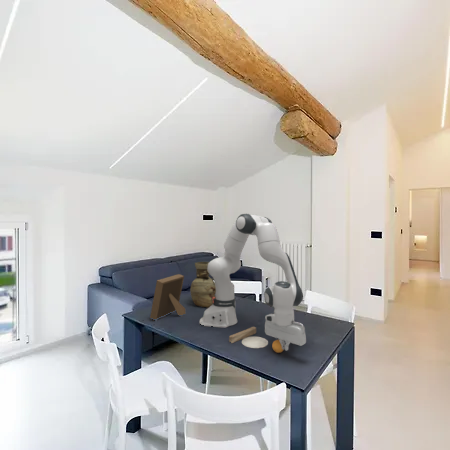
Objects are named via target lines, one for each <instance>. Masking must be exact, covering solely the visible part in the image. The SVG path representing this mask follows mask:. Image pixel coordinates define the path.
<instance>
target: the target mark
mask: <svg viewBox="0 0 450 450" xmlns="http://www.w3.org/2000/svg"><path fill="white" fill-rule="evenodd" d="M241 344H242V345H243V346H244V347H247V348H251V349H262V348H265V347H267V346H268V345H269V341H268V339H266V338H264V337H260V336H248V337H246V338H244V339H241Z"/></svg>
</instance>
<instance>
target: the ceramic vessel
mask: <svg viewBox="0 0 450 450" xmlns="http://www.w3.org/2000/svg"><path fill="white" fill-rule="evenodd" d="M209 262H210V261H198V262H194V266H195V269H196V270H195V271H196V273H195V275H196V278H194V280H193V281H192V282H191V285H190V290H189V291H190V297H191V300H192V302H193V303H194V305H195V306H197V307H200V308H204V307H206V309H207V308H209V307H210V306H211V305H213V300H212V299H213V297H215V298H216V286H215V282H214V279H213V278H211V277H210V274H209V272H208V264H209Z"/></svg>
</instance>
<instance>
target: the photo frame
mask: <svg viewBox="0 0 450 450" xmlns="http://www.w3.org/2000/svg"><path fill="white" fill-rule="evenodd" d="M184 279H185V275H182V274H181V273H180V274H179V273H178V274H174V275H171V276H167V277H163V278H160V279H157V280H156V284H155V289H154V294H153V300H152V305H151V310H150V311H151V312H150V315H149V316H150V317H149V319H150V318H153V319H157V318H159V317H161V316H164V315H166V314H168V313H170V312H173V311H175V310H176V312H175V313H177V315H183V314H186V308H185V307H184V306H183V304H181V303H180V299H181V295H182V290H183V283H184Z"/></svg>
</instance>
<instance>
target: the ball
mask: <svg viewBox="0 0 450 450" xmlns="http://www.w3.org/2000/svg"><path fill="white" fill-rule="evenodd" d="M271 345H272V349H273V351H274V352H275V353H276V354H277V353H278V354H279V353H282V352H283V351H284V350H283V349H282V345H281V343H280V341H279V339H275V340H273V341H272V344H271Z"/></svg>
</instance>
